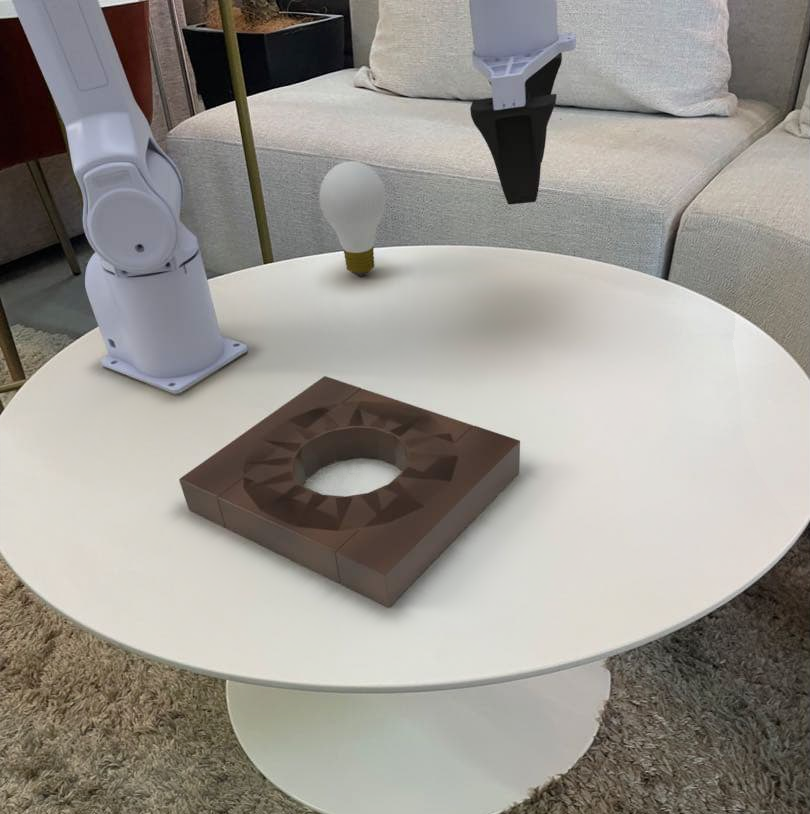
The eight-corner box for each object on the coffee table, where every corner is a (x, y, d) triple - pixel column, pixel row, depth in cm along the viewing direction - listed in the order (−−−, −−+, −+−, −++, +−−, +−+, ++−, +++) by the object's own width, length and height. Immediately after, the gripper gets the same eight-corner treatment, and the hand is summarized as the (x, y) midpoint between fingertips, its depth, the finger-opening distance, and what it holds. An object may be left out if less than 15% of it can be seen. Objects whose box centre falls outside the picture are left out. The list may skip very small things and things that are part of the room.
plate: (188, 510, 51) (178, 479, 50) (329, 405, 59) (324, 375, 58) (389, 608, 44) (384, 575, 42) (519, 472, 52) (520, 440, 50)
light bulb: (385, 289, 73) (374, 174, 67) (322, 287, 74) (306, 174, 68) (398, 262, 77) (389, 151, 71) (339, 261, 79) (325, 152, 72)
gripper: (569, -20, 46) (577, 214, 55) (576, -64, 56) (581, 141, 65) (448, 1, 48) (475, 225, 57) (476, -45, 58) (495, 152, 67)
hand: (525, 181), depth 61 cm, fingers open, 7 cm apart
